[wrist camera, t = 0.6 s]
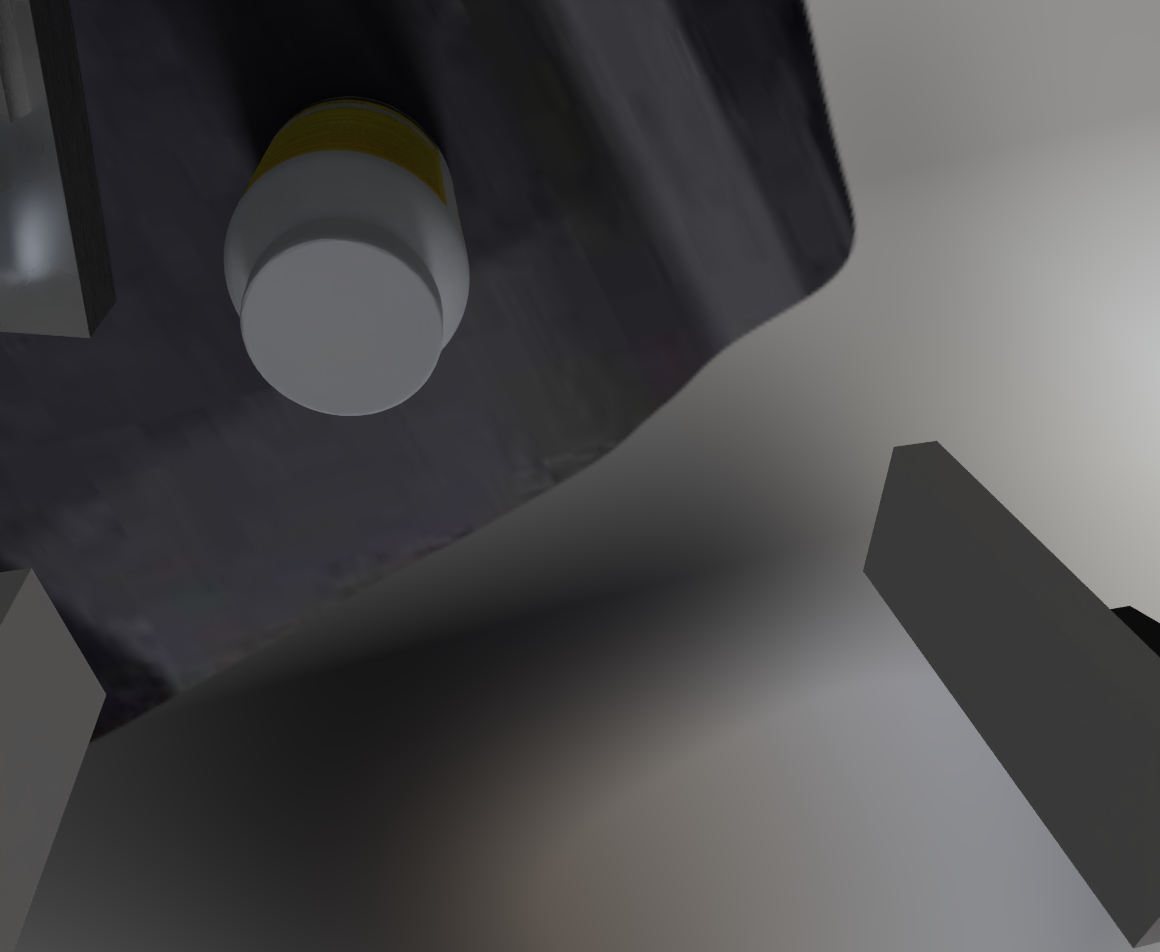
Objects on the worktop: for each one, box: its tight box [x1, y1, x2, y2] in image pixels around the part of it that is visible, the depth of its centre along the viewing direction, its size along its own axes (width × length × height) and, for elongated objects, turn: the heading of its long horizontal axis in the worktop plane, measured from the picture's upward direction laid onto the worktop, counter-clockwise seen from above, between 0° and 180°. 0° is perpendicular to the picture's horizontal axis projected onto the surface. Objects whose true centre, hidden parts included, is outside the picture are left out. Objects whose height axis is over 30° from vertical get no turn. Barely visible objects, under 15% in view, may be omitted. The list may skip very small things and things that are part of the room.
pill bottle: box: [224, 97, 469, 416], centre depth 23 cm, size 6×6×12 cm
